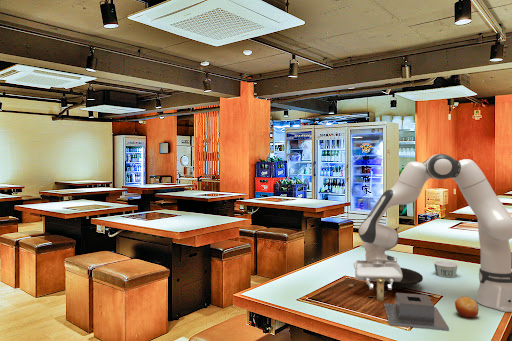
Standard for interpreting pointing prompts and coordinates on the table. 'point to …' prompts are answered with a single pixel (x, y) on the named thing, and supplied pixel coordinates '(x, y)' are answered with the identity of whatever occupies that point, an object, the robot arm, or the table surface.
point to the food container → (445, 269)
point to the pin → (380, 288)
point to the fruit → (466, 307)
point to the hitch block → (414, 312)
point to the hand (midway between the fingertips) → (380, 289)
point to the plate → (406, 279)
